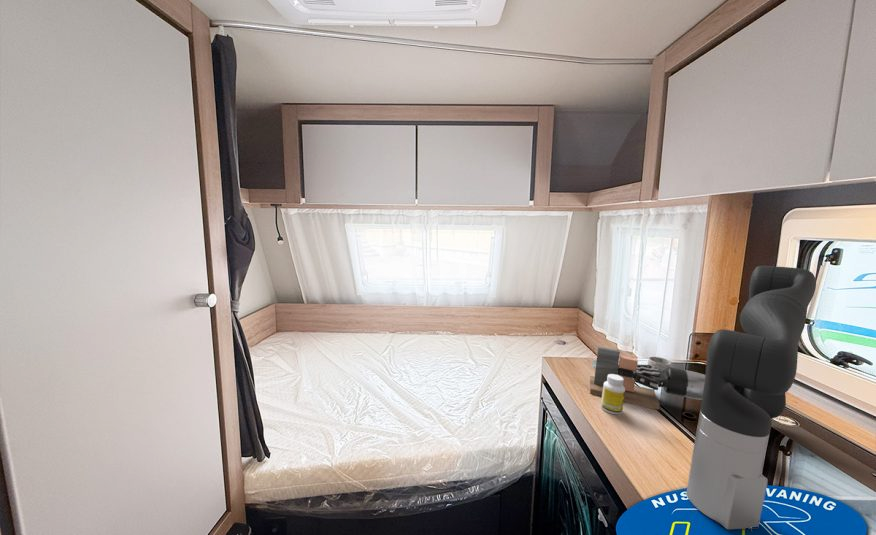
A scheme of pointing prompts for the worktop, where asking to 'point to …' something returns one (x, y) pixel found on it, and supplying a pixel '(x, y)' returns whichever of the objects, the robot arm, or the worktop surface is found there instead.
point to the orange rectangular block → (630, 365)
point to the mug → (659, 363)
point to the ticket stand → (609, 365)
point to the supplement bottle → (613, 394)
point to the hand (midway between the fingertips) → (617, 369)
